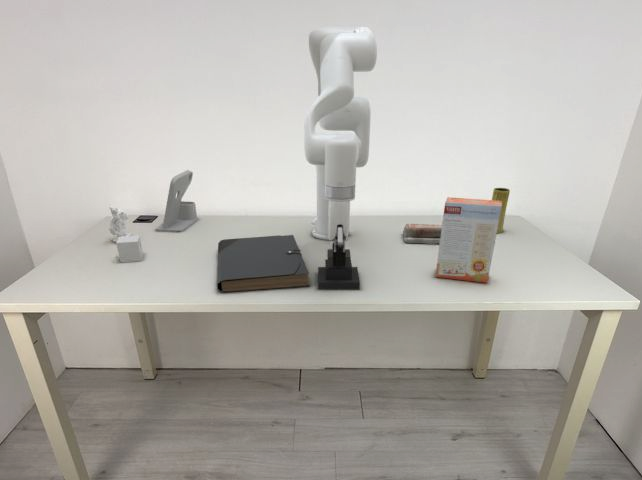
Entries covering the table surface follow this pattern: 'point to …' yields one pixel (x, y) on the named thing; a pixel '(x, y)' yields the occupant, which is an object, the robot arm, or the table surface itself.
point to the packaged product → (422, 233)
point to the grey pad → (330, 259)
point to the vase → (503, 196)
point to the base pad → (338, 281)
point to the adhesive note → (129, 248)
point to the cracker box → (468, 238)
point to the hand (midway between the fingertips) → (338, 260)
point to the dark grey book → (260, 264)
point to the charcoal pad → (338, 272)
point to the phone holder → (179, 205)
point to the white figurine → (118, 222)
